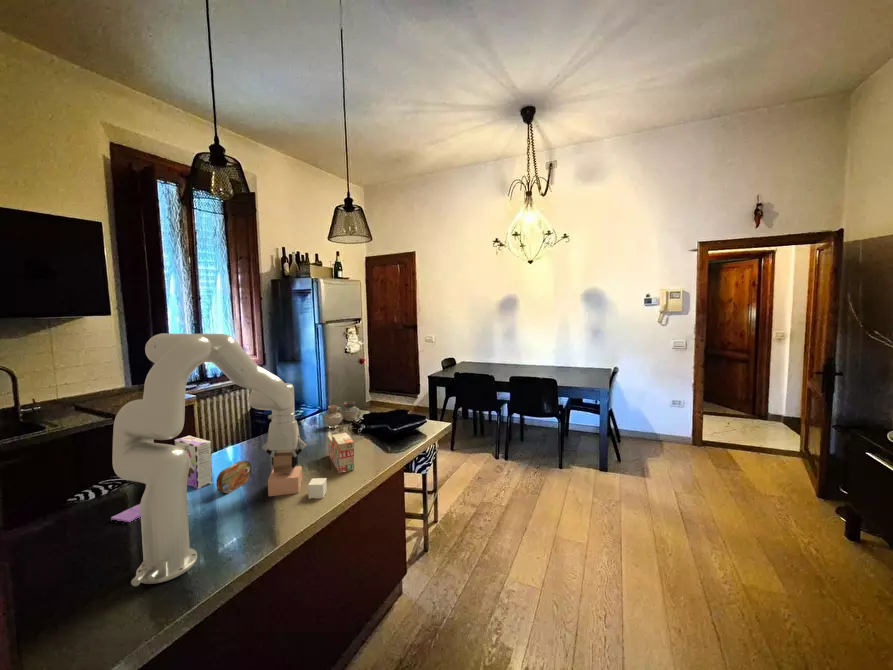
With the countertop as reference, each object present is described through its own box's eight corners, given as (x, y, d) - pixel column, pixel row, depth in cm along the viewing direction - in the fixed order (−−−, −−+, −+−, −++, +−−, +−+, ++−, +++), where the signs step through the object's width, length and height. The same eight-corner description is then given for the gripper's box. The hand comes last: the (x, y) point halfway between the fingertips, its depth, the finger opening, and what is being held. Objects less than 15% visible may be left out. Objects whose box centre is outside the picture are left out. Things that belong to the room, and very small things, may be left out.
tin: (222, 497, 134) (221, 474, 133) (215, 496, 134) (213, 473, 134) (252, 478, 149) (251, 457, 148) (245, 478, 149) (244, 456, 149)
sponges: (167, 505, 129) (167, 500, 129) (128, 526, 117) (127, 520, 117) (151, 503, 131) (150, 497, 131) (110, 523, 119) (110, 517, 119)
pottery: (319, 429, 209) (318, 407, 208) (347, 417, 232) (347, 397, 231) (336, 431, 205) (335, 409, 204) (363, 419, 228) (363, 399, 227)
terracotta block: (298, 493, 137) (298, 477, 137) (268, 496, 135) (267, 480, 134) (302, 481, 147) (301, 465, 146) (273, 484, 144) (273, 468, 144)
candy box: (175, 481, 146) (173, 439, 145) (192, 475, 151) (190, 434, 150) (197, 489, 140) (194, 445, 138) (213, 483, 145) (211, 440, 144)
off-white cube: (323, 498, 133) (322, 484, 133) (308, 498, 133) (308, 484, 133) (326, 491, 138) (326, 478, 138) (312, 492, 138) (312, 478, 138)
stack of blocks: (327, 455, 172) (327, 428, 171) (341, 453, 175) (341, 426, 174) (338, 473, 153) (338, 443, 152) (354, 470, 156) (354, 441, 155)
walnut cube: (290, 472, 137) (290, 456, 137) (273, 472, 137) (273, 456, 137) (296, 465, 143) (295, 449, 143) (279, 465, 143) (279, 450, 143)
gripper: (254, 421, 135) (256, 471, 136) (304, 420, 136) (306, 470, 137) (263, 415, 142) (264, 463, 143) (310, 414, 143) (312, 461, 144)
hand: (285, 466), depth 140 cm, fingers closed on walnut cube, 6 cm apart
